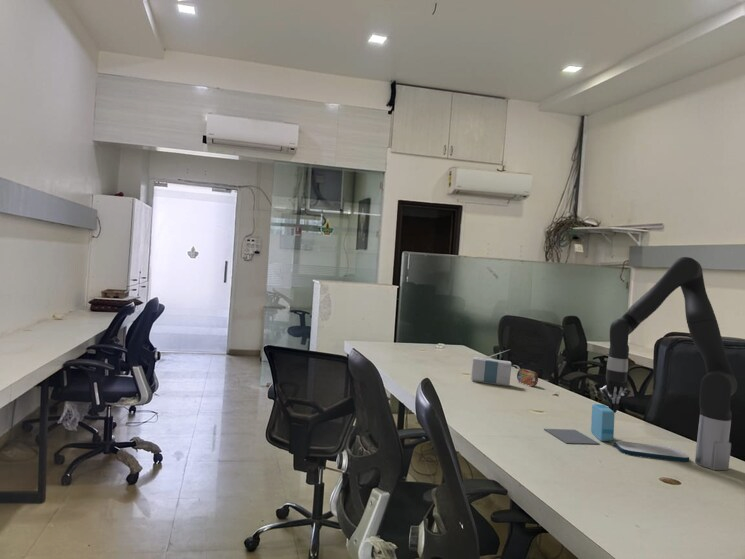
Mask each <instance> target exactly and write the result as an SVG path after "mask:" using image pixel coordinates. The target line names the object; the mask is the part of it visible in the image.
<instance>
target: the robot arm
mask: <svg viewBox="0 0 745 559" xmlns="http://www.w3.org/2000/svg"><path fill="white" fill-rule="evenodd" d="M679 287H680V289H681V292H682V294H683V299H684V312H685V320H686V324H687V327H688V331H689V335H690V337H691V339H692V342H693V343H694V345H695V347H696V349H697V350H698V352H699V353H700V355H701V357H702V360H703V361H704V365H705V370H706V374H705V375H704V376H703V377H702V379H701V381H700V387H699V401H698V405H699V410H700V411H699V421H698V430H697V437H696V438H697V439H696V445H695V446H696V447H695V456H694V457H695V458H694V463H695V464H697V465H699V466H701V467H704V468H707V469H710V470H712V471H729V468H730V459H731V450H732V442H730V433H731V426H732V425H731V424H732V416H733V414H732V411H731V396H733V395H734V394H735V393H736V391H737V389H738V382H737V379H736V376H735V375H734V372H733V370H732V367H731V364H730V363H729V360H728V357H727V354H726V350H725V346H724V342H723V338H722V334H721V331H720V327H719V323H718V321H717V317H716V314H715V312H714V309H713V305H712V303H711V301H710V299H709V296H708V293H707V291H706V285H705V279H704V273H703V268H702V265H701V263H700V262H699V261H697V260H696V259H694V258H692V257H690V256H683V257H680V258H677V259H676V260H675V261H673V263H672V264H671V265H670V266H669V268H668V269H667V270H666V271H665V273H664V274H663V275H662V276H661V278H660V279H659V280H658V281H656V283H655V284H654V285H653V286H652V287H651V288H650V289H649V290H648V291H646V292H645V293H644V294H643V295H642V296H641V297H640V298H639V299H638V300H636V301H635V302H634V303H633V304H632V305H631V306H630V307H629V308H628V310H627V312H625V313H624V314H623V315H622V316H621V317H619V318H618V319H615V320H613V321H612V322H611V324H610V327H609V348H608V350H609V351H608V359H607V361H606V372H605V380H606V381H605V383H604V385H603V387H599V388H598V390H599V392H600V394H601V396H602V397H603V399H604V401H606V402H608V408H610V409H611V410H613V411H614V414H616V412H617V411H618V405H619V403H623V402H624V401H625V400H626V399H627V398H628V396H629V395H630V394H631V392H632V391H631V390H629V389H628V388H627V385H626V383H627V380H628V372H629V370H628V369H629V356H630V346H629V335H630V334H632V333H633V332H634V331H635V330H636V329H637V328H638V327H639V326H640V325H641V323H643V322H644V321H646V320H647V319H648V318H649V317H650V316H651V315H652V314H654V312H656V311H657V309H659V308H660V307H661V306H662V304H663V303H664V302H665V301H666V299H667V298H668V297H669V296H670V295H671V294H672V293H673V292H674V291H675V290H677V289H678V288H679Z"/></svg>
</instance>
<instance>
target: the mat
mask: <svg viewBox="0 0 745 559" xmlns="http://www.w3.org/2000/svg"><path fill="white" fill-rule="evenodd" d="M543 430H544V431H545V432H546V433H549V435H551V436H553V437H555V438H556V439H557V440H559V441H561V442H562V443H565V444H566V445H567V444H568V445H569V444H570V445H598V444H600V442H598V441H596V440H594V439H592V438H591V437H589V436H587V435H585V434H584V433H582V432H580V431H578V430H577V429H564V428H563V429H561V428H543Z"/></svg>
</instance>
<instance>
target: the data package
mask: <svg viewBox="0 0 745 559" xmlns="http://www.w3.org/2000/svg"><path fill="white" fill-rule="evenodd" d="M590 422H591V423H590V432H591V434H592V435H593V434H594V435H595V436H596V437H595V436H594V435H593V436H594V437H595V438H596V439H597V440H599V441H600V442H611V443H612V442H613V441H614V435H615V434H614V431H615V413H614V411H613V410H611V409H610V408H609V406H607V405H606V404H601V403H600V404H599V403H597V404H596V403H593V404H592V405H591V421H590Z"/></svg>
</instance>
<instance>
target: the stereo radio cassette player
mask: <svg viewBox="0 0 745 559" xmlns="http://www.w3.org/2000/svg"><path fill="white" fill-rule="evenodd" d="M510 350H511V349H507V350H503V351H502V352H498V353H495V354H492V355H488V356H486V357H480V356H479V357H478V356H475V357H473V359H472V364H471V365H472V366H471V374H470V375H471V377H470V379H471V381H472V382H478V383H483V384H484V383H485V384H492V385H498V386H502V387H503V386H504V387H508V386H510V383H511V382H510V381H511V372H512V362H511V361H509V360H501V359H494V358H491V357H494V356H496V355H499V354H502V353H505V352H507V351H510Z"/></svg>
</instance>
